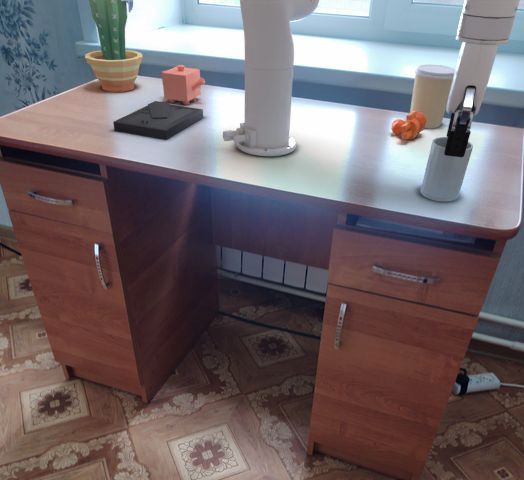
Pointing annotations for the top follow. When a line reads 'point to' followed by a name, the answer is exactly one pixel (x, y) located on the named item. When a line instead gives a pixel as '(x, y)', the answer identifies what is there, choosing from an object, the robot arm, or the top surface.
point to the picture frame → (158, 120)
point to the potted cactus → (113, 46)
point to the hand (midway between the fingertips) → (454, 146)
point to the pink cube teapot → (182, 84)
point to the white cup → (444, 172)
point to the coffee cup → (432, 92)
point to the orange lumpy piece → (410, 125)
